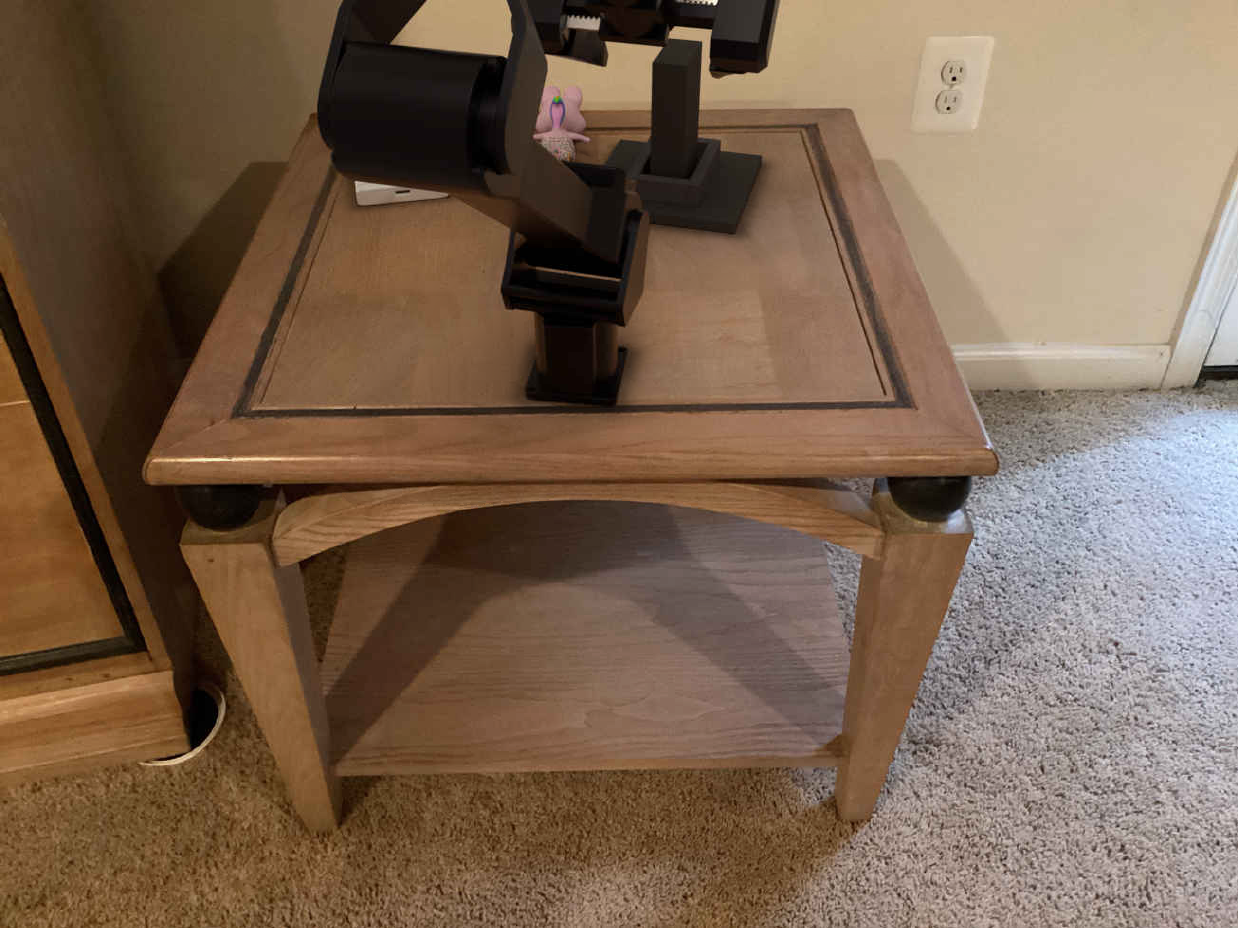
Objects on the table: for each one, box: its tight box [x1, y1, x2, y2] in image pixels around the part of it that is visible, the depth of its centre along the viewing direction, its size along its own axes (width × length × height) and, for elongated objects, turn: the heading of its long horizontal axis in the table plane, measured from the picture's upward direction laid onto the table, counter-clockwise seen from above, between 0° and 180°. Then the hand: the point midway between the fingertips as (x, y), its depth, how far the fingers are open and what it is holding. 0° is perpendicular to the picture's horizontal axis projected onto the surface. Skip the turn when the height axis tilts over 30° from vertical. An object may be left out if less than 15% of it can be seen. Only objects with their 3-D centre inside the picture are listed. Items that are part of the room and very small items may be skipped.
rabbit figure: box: [534, 85, 591, 162], centre depth 104 cm, size 6×6×15 cm
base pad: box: [603, 135, 763, 235], centre depth 97 cm, size 14×14×3 cm
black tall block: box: [650, 37, 703, 180], centre depth 94 cm, size 3×6×12 cm, turn 165°
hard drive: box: [354, 181, 450, 206], centre depth 100 cm, size 2×8×12 cm
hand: (661, 66), depth 85 cm, fingers open, 9 cm apart
